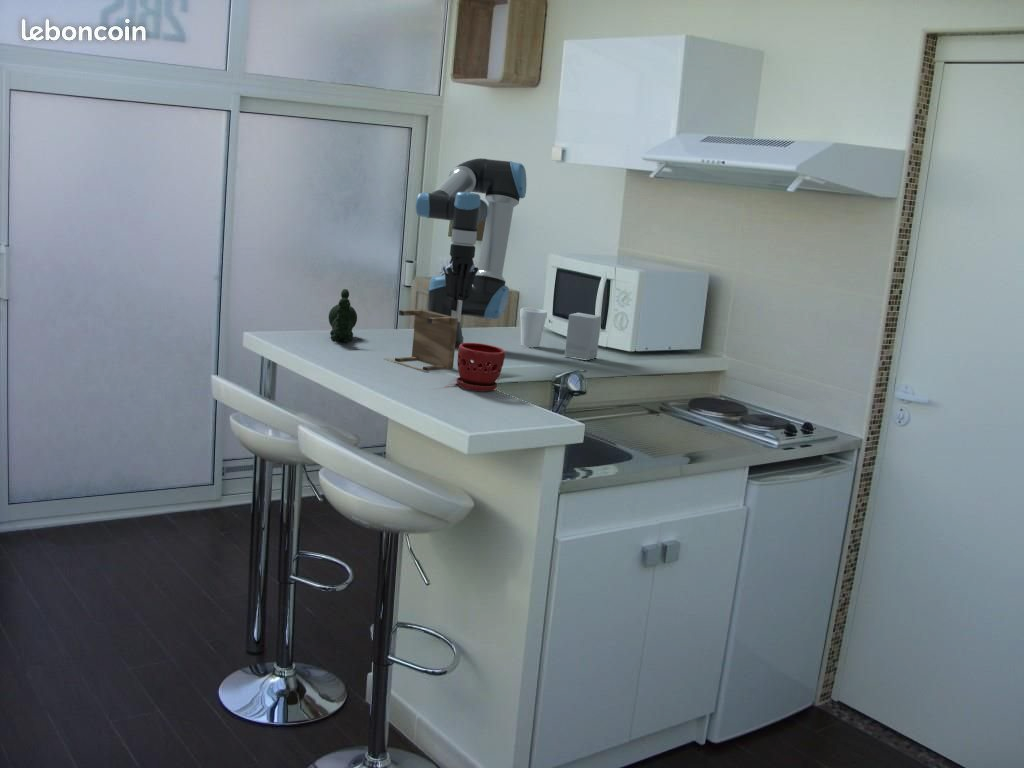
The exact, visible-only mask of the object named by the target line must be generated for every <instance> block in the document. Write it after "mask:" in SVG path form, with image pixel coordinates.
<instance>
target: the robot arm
mask: <svg viewBox="0 0 1024 768" xmlns="http://www.w3.org/2000/svg"><path fill="white" fill-rule="evenodd" d="M526 193H527V172H526V168H525V165H523V164H522V163H520V162H514V161H512V160H509V161H506V160H499V159H488V158H473V159H471V160H470V159H469V160H467V161H465V162H464V161H463V162H462V163H460V164H458V165H456V166H455V167H454V168H453V169H451V171H450V172H449V175H448V177H447V178H446V179H445V180H444V181H443V182H442V183H441V184H440V185H439V186H437V188H435V189H434V190H433V191H432V192H431V193H430V192H420V193H419V194H418V195H417V197H416V200H415V213H416V214H417V216H418V217H420V218H421V217H422V218H427V219H433V220H434V219H436V220H445V221H452V230H451V238H450V239H451V240H450V242H452V243H451V244H450V251H449V255H450V261H449V264H448V265H447V266H446V265H445V266H443V268H442V270H443V273H444V275H436V276H433V277H431V278H430V281H429V288H428V293H427V294H428V296H427V297H428V298H427V307H426V310H428V311H432V312H436V313H439V314H443V315H447V316H451V317H455V318H458V323H457V333H456V342H455V346H457V347H459V345H460V344H462V343H464V339H465V338H464V336H463V331H462V325H461V321H462V320H461V319H462V316H467V317H474V318H481V319H485V320H488V319H489V320H498V319H499V318H501V317H502V316H503V314H504V312H505V310H506V308H507V305H508V301H509V294H510V289H509V286H507V285H506V280H505V278H504V277H503V272H504V266H505V259H506V254H507V250H508V249H507V248H508V243H509V235H510V233H511V232H510V230H511V225H512V219H513V212H514V208H515V207H517V206H518V205H519V203H520V200H522V199H525V197H526ZM481 194H485V197H484V198H485V200H486V201H484V200H483V199H481ZM487 203H488V204H487ZM484 221H485V224H484V227H483V228H484V230H483V233H482V234H483V235H482V241H481V247H480V252H479V259H478V264H477V266H474V262H473V259H474V258H475V256H476V246H475V245H476V244H477V236H478V235H477V234H478V225H479V224H480V223H483V222H484Z"/></svg>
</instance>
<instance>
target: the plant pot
mask: <svg viewBox="0 0 1024 768" xmlns="http://www.w3.org/2000/svg"><path fill="white" fill-rule="evenodd" d="M505 355H506V352H505V350H504V349H503V348H500V347H497V346H495V345H490V344H484V343H477V342H463V343H462V344H460V345H459V346H458V351H457V362H456V363H457V370H458V374H459V377H457V378H456V383H457V385H458V386H459V387H460V388H463V389H465V390H469V391H473V392H491V391H493V390H495V389H496V388H497V387H498V383H497V380H498V379H499V377H500V375H501V372H502V370H503V366H504V361H505V357H506V356H505ZM471 361H472V362H471Z"/></svg>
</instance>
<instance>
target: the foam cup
mask: <svg viewBox="0 0 1024 768" xmlns="http://www.w3.org/2000/svg"><path fill="white" fill-rule="evenodd" d="M519 310H520V311H519V316H520V346H521V345H522V346H526V347H540V344H541V341H542V336H543V333H544V327H545V323H546V319H547V317H548V311H547V310H545V309H540V308H534V307H533V308H532V307H521V308H520V309H519ZM522 346H521V347H522ZM526 347H525V348H526Z"/></svg>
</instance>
